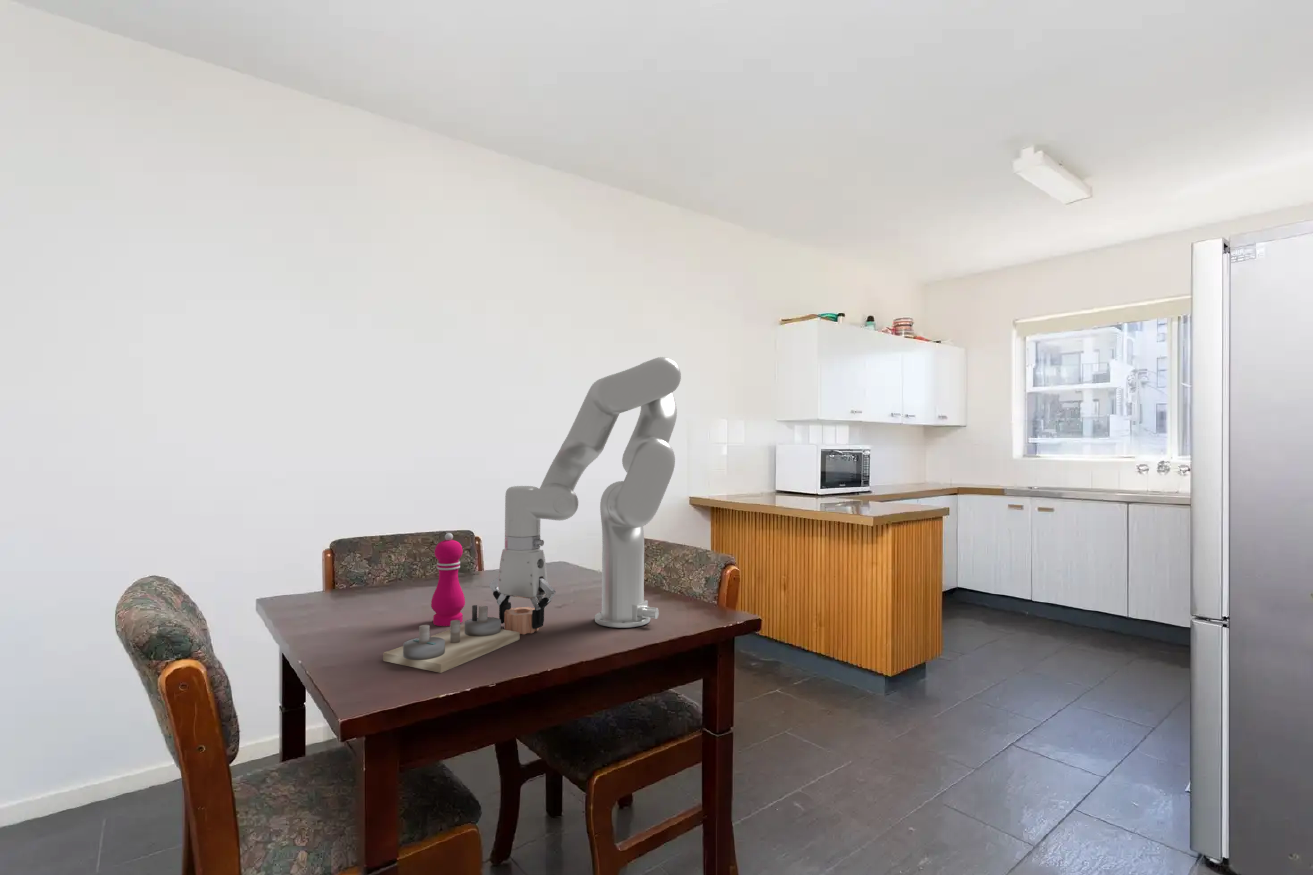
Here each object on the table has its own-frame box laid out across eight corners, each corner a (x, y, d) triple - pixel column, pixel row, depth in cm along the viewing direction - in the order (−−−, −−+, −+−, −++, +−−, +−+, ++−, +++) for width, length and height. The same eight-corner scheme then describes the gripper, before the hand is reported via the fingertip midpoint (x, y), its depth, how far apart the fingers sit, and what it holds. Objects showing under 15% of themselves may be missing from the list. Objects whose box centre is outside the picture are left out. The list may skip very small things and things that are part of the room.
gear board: (521, 638, 134) (521, 606, 135) (438, 674, 114) (439, 636, 114) (468, 629, 141) (468, 599, 141) (380, 661, 120) (381, 626, 120)
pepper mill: (454, 628, 142) (455, 535, 142) (424, 626, 143) (425, 534, 144) (470, 619, 149) (471, 531, 149) (441, 617, 150) (442, 530, 151)
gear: (545, 627, 143) (545, 609, 143) (525, 636, 136) (525, 616, 136) (518, 623, 146) (518, 605, 146) (497, 631, 139) (497, 612, 139)
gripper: (566, 544, 141) (564, 625, 141) (501, 538, 148) (500, 615, 148) (545, 549, 134) (544, 634, 134) (479, 542, 142) (477, 623, 141)
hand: (521, 624), depth 141 cm, fingers open, 8 cm apart
